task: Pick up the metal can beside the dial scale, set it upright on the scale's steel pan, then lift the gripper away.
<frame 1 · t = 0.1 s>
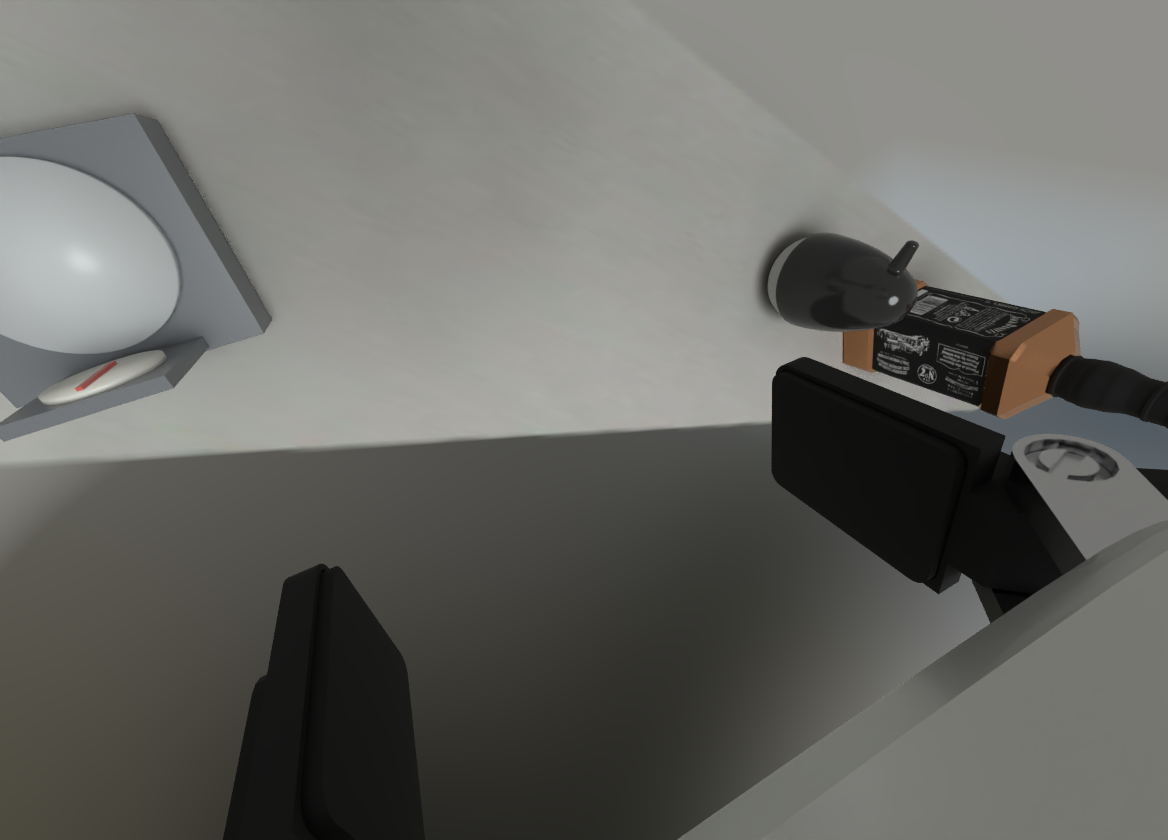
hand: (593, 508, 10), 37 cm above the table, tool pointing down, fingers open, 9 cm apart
whiskey bottle: (870, 321, 66), on the table
scale: (100, 260, 32), on the table
pump dispenser: (786, 274, 57), on the table
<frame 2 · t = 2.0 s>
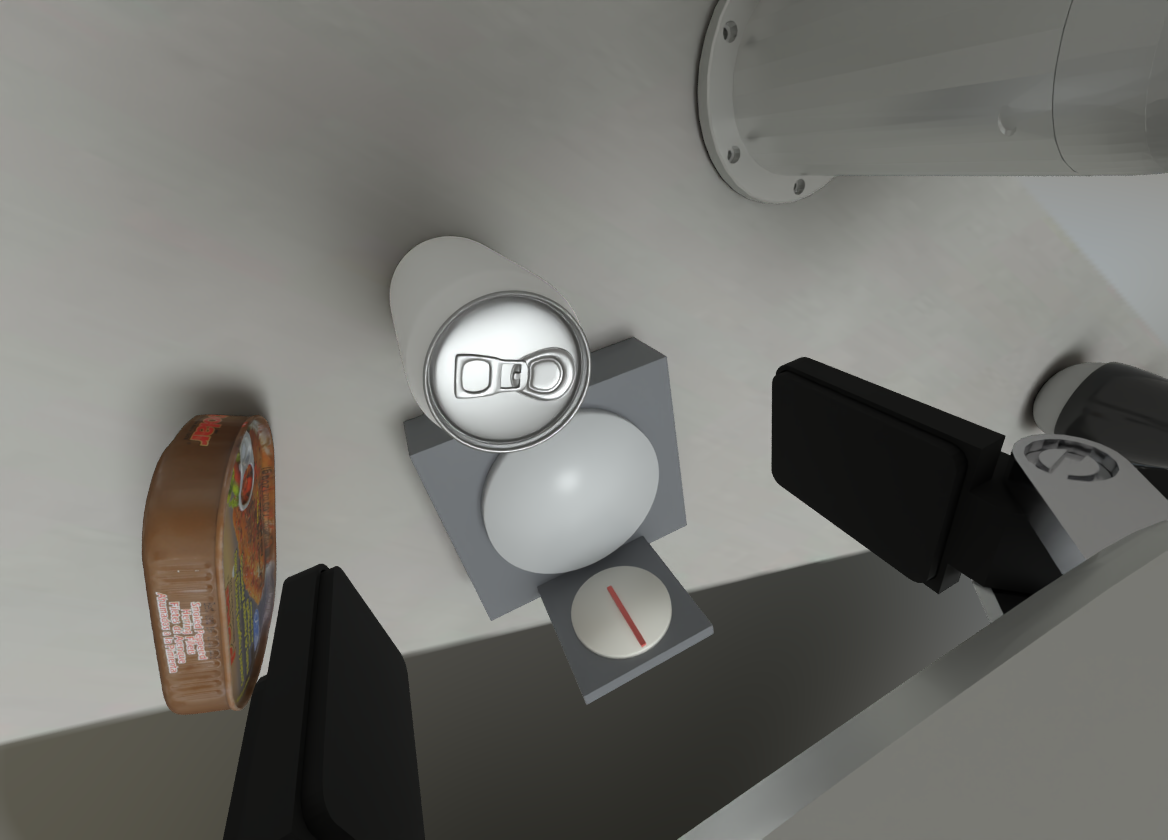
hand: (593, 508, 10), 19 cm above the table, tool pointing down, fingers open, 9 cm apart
whiskey bottle: (1095, 421, 65), on the table
scale: (551, 464, 32), on the table
can: (453, 298, 25), on the table
pump dispenser: (1047, 391, 56), on the table
tin: (242, 511, 26), on the table
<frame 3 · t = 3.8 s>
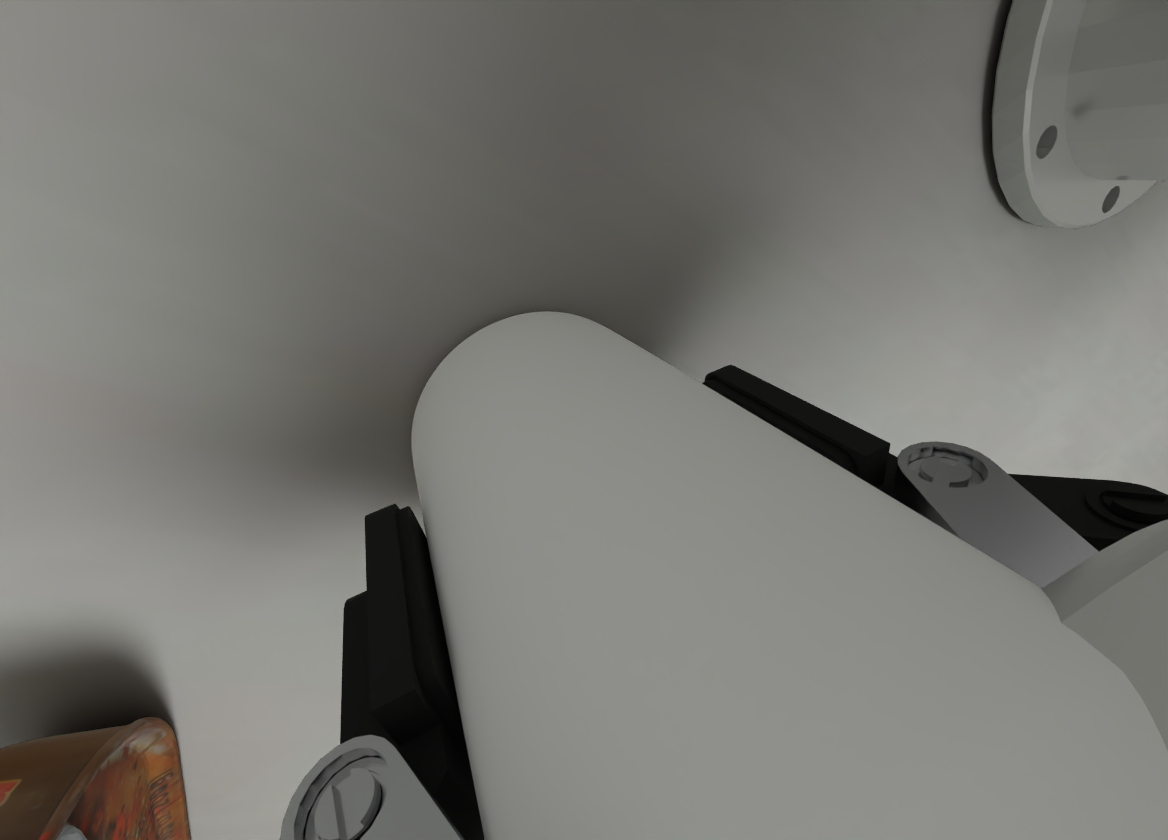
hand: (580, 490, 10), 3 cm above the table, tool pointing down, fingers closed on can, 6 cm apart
can: (533, 422, 13), on the table, touching gripper
tin: (122, 833, 13), on the table
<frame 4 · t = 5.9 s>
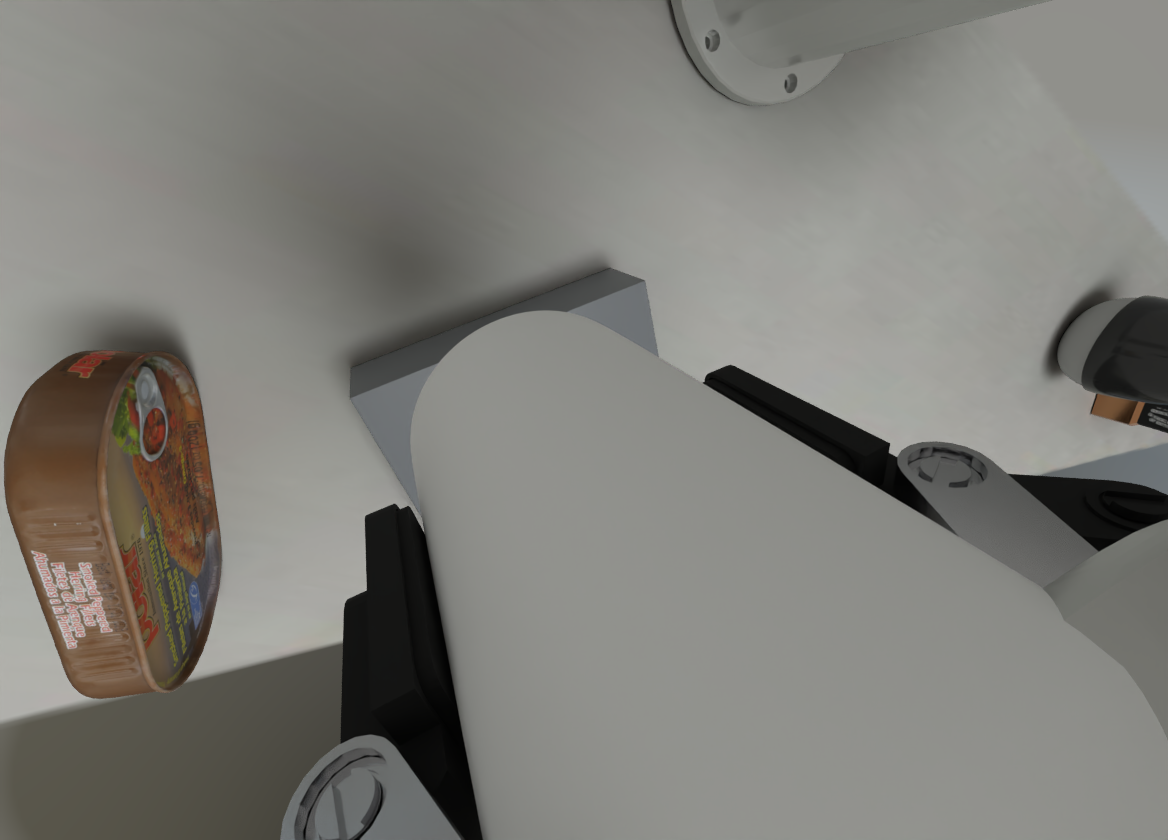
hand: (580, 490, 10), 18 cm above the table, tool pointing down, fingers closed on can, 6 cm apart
whiskey bottle: (1123, 368, 61), on the table
scale: (527, 417, 29), on the table
can: (532, 422, 13), point 14 cm above the table, touching gripper
pump dispenser: (1072, 334, 52), on the table
tin: (173, 474, 23), on the table
when the fingers open (10 cm above the table, at t = 8.3 s): can drops 2 cm, resting on scale.
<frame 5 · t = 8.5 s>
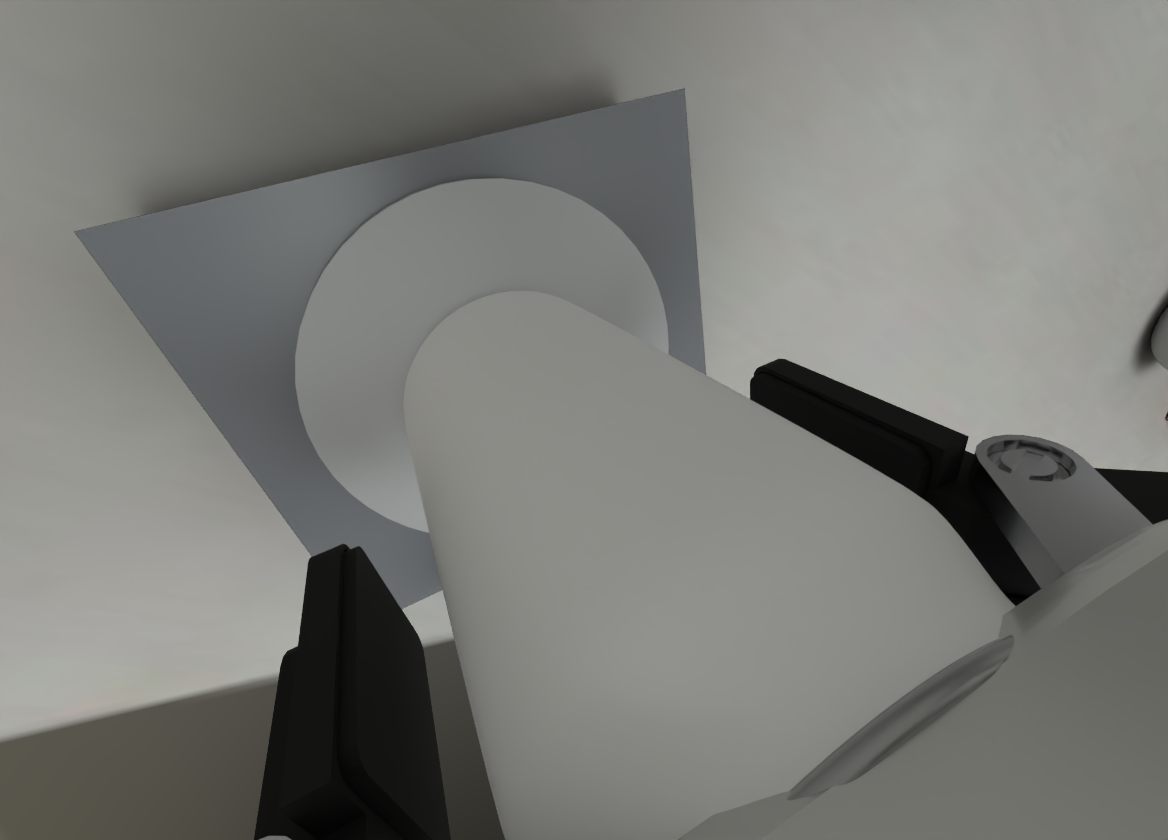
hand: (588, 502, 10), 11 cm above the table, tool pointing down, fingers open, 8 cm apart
scale: (479, 350, 18), on the table
can: (513, 393, 14), point 5 cm above the table, touching scale
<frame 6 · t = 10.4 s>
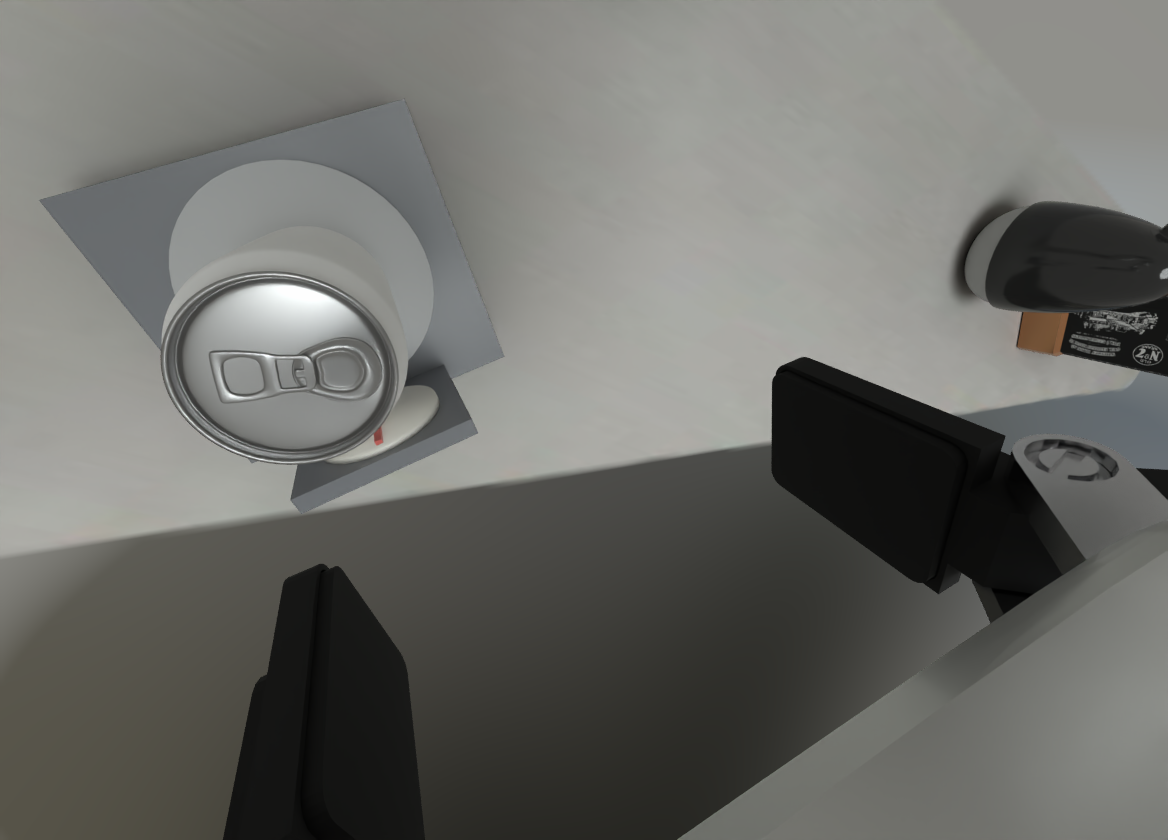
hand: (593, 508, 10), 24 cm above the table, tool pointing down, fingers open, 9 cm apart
whiskey bottle: (1047, 299, 59), on the table
scale: (326, 282, 27), on the table
can: (320, 295, 23), point 5 cm above the table, touching scale
pump dispenser: (980, 252, 50), on the table
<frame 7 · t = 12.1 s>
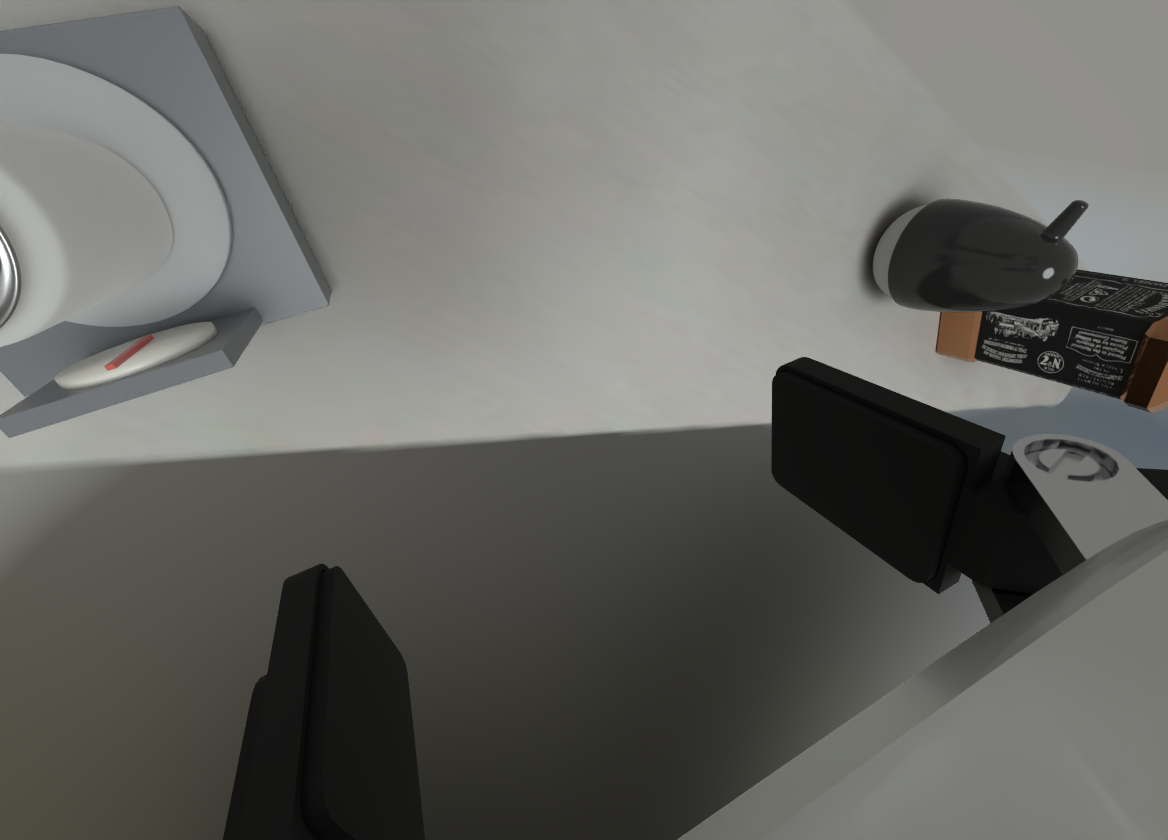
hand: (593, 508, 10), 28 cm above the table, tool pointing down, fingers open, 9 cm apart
whiskey bottle: (967, 305, 59), on the table
scale: (128, 211, 26), on the table
can: (86, 214, 22), point 5 cm above the table, touching scale
pump dispenser: (891, 249, 50), on the table
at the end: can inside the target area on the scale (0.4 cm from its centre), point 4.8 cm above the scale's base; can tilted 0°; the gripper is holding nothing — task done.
